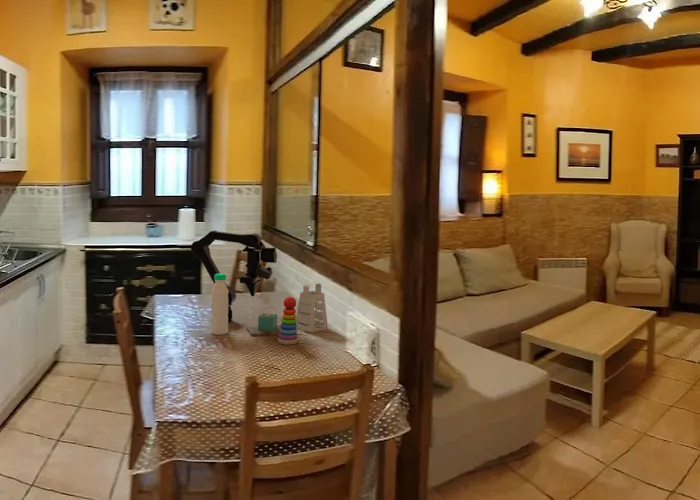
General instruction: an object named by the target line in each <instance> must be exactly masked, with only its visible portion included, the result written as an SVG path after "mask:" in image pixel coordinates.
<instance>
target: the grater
mask: <svg viewBox="0 0 700 500" xmlns="http://www.w3.org/2000/svg"><path fill="white" fill-rule="evenodd" d="M311 285H315V291H314V290H310V287H311ZM302 289H303V290H302V292H299V299H298V303H297V310H296V314H295V315H296V318H295V319H296V320H297V322H296V325H297V327H296V329H297V330H301V331H304V332H308V333H314V331H315V332H319V330H320V331H324V330H328V329H329V325H328V316H327V307H326V300H325V299H326V298H325V297H326V296H325V293H324V292H322V284H321V283H320V282H319V283H318V282H306V283H304V284H303V288H302ZM320 326H321V327H320ZM323 329H324V330H323Z"/></svg>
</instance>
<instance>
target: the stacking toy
mask: <svg viewBox="0 0 700 500" xmlns="http://www.w3.org/2000/svg"><path fill="white" fill-rule="evenodd" d="M283 306H284V308H283V310H282V312H283V314H281V317H282V319H281V323H280V326H281V328H280V333H279V335H278V338H277V342H278V343H279V344H281V345H286V346H289V345H290V346H291V345H292V346H293V345H295V344H297V343H298V342H299V340H298V339H299V338H298V329H297V328H296V327H297V325H296V322H297V320H296V315H297V310H296V306H297V300H296V298H295V297H293V296H286V297H285V298H284V300H283Z"/></svg>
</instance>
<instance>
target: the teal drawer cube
mask: <svg viewBox="0 0 700 500" xmlns="http://www.w3.org/2000/svg"><path fill="white" fill-rule="evenodd" d="M257 319H258V321H257V326H258V331H270V332H273V331H274V330H275V329H277V325H278V314H275V313H274V314H273V313H261V314H260V315H258V317H257Z"/></svg>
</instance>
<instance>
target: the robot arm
mask: <svg viewBox="0 0 700 500" xmlns="http://www.w3.org/2000/svg"><path fill="white" fill-rule="evenodd" d="M215 241H220V242H221V241H223V242H230V243H237V244H241V245H243V246H245V248H243V249H242V251H241V252H243V253H246V264H244V265H245V268H246V273H244V275H242V276H241V277H240V278H239V284H245V286H246V287H247V289H248V292H249V294H250V296H251V297H255V295H256V291H257V288H258V284H259V283H260V282H262V279H265V280H270V279H271V277H272V275H273V270H272V269H273V268H272V267H270V266H267V267H266V268H265V267H263V266H262V264H261V261H262V263H267V264H268V263H269V264H270V263H271V264H276V263H277V261H278V253H277V248H276V247H266V245H265V244H264V242H263V241H262V237H261V235H260V234H259V233H242V234H241V233H234V232H233V233H232V232H224V231H218V230H210V231H209V232H208V233H207V234H205V235H204V236H203V237H202V238H200V239H199V240H196V241H193V242H192V243H191V246H190V251H191V252H192V253H193V254H194V256H195V257H196V258H197V259H199V260H200V262H201V263H202V264H203V267H204V268H205V270H206V272H207V273H208V275H209V277H210V279H211V280H212V282H213V285H214V284H215V279H214V275H215V274H221V273H220V271H219V269H218V267H217V265H216V264H215V262H214V260H213V258H212V256H211V250H210V247H209V246H211V245H212V244H213V243H214V242H215ZM259 278H262V279H259ZM225 284H226V286H227V288H228V291H229V293H228V323H229V322H233V310H232V307H231V306H232V305H233V303H234V302H235V301H236V300H237V291H235V289H234V286H233V285H232V284H230V286H229V285H228V284H227V283H226V282H225Z"/></svg>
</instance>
